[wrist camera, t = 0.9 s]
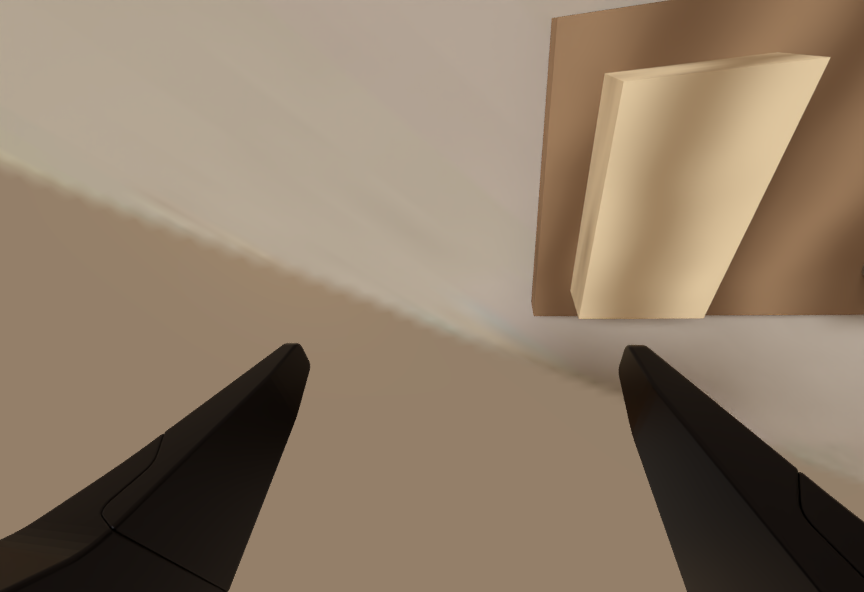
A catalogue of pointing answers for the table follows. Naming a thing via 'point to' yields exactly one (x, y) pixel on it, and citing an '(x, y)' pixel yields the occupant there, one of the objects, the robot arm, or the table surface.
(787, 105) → the maple plate
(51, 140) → the table surface
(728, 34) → the board
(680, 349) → the table surface
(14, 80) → the table surface
